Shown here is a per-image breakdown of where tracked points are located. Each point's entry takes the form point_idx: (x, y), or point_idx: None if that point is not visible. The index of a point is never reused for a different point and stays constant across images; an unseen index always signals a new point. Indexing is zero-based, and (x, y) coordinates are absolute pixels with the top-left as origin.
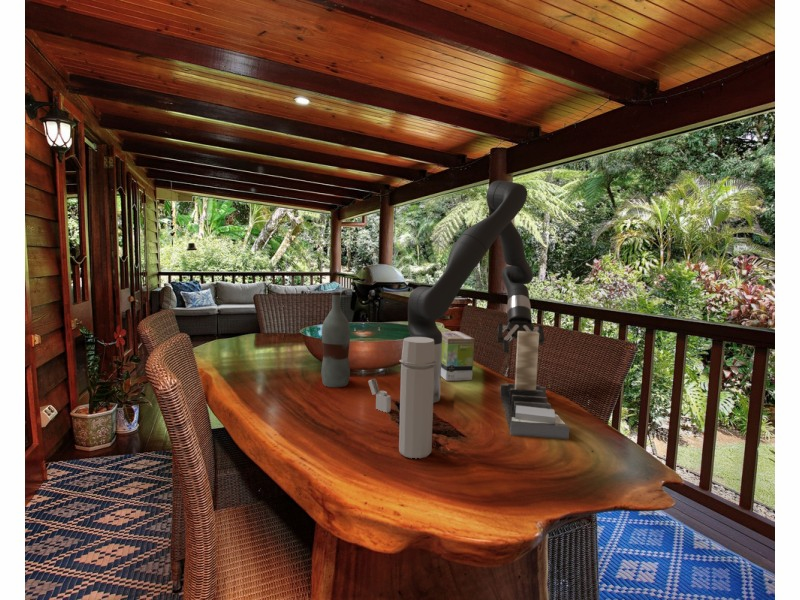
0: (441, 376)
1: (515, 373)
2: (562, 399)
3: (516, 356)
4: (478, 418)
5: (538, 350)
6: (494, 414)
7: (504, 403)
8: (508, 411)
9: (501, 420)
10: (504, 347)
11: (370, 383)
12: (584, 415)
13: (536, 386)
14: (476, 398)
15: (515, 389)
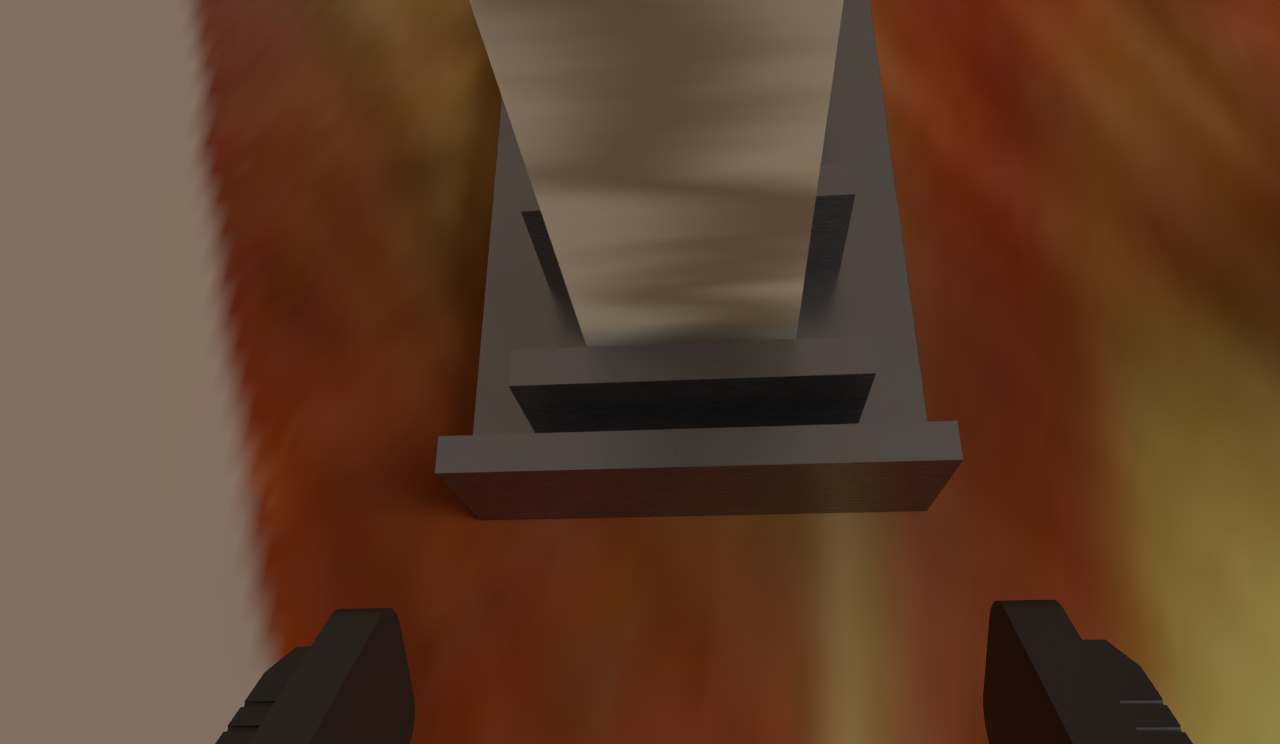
0: None
1: (809, 239)
2: (271, 644)
3: (831, 58)
4: (1060, 28)
5: (283, 671)
6: (949, 122)
7: (883, 225)
8: (848, 69)
9: (891, 34)
10: (1139, 688)
11: None
12: (250, 261)
13: (553, 351)
14: (1172, 467)
15: None
